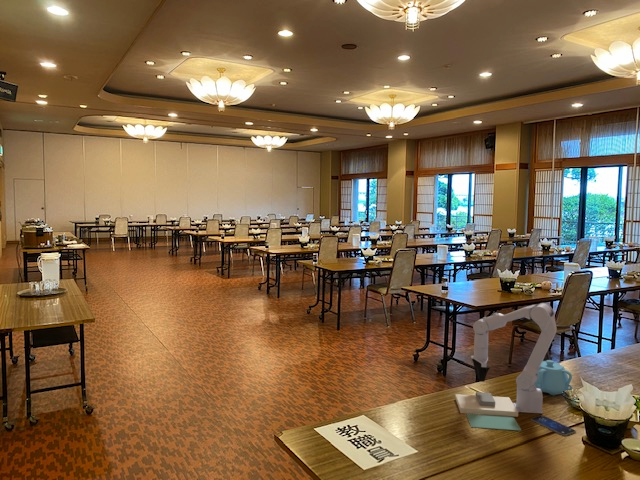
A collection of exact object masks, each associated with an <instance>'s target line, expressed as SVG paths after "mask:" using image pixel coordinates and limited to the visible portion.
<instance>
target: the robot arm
mask: <svg viewBox="0 0 640 480" xmlns="http://www.w3.org/2000/svg"><path fill="white" fill-rule="evenodd" d="M555 314H556V313H555V311H554V309H553V308H552V306H551V305H550V304H548V303H547V302H540V303H538V304H532V305H528V306H523V307H522V308H519V309H517V310H513V311H511V312H509V313H505V314H503V313H500V312H494V313H492V315H490V316H484V317H482V318H480V319H478V320H476V321H475V322H474V323H473V325H472V328H473V332H474V337H473V339H474V340H473V345H474V346H473V355H470V359H471V361H472V363H473V368H474V374H475V375H476V376H478V377H477V378H478V382H485V381H486V379H487V374H488V373H489V371H490V369H491V366H490V365H488V361H489V332H490V331H495V330H497V329H500V328H505V327H506V326H507V324H508V322H512V321H516V320H519V319H522V318H526V319H527V320H532V321H533V322H535V324H537V326H539V328H540V330H541V332H540V335H539V337H538V338H537V341H536V343H535V345H534V348H533V350H532V352H531V354H530V356H529V358H528V361H527V362H526V365H525V366H524V368H523V369H522V371H521V373H520V374H519V375H517V376H516V378H515V384H516V399H515V401H516V402H512V403H513V404H514V406H515V407H516V409H517V411H518V413H527V414H528V413H529V414H542V415H543V401H544V400H543V399H544V397H543V395H544V394H543V392H542V391H541V389H540V388H536V386H535V382H536V381H537V380H538V371H539V367H540V365H541V363H542V361H544V359H545V357H546V355H547V352H548V351H549V348H550V346H551V344H552V341H553V340H554V339H555V338H554V337H555V335H556V333H557V332H558V331H557V330H558V328H557V322H556V317H555Z"/></svg>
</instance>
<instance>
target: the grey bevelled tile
mask: <svg viewBox="0 0 640 480" xmlns="http://www.w3.org/2000/svg"><path fill="white" fill-rule="evenodd" d="M475 395H476V399H477V401H478V403H479V405H480V406H491V407H495V400H494V398H493V397H492V396H493V395H492V393H491V392H483V391H482V392H479V391H476V392H475Z"/></svg>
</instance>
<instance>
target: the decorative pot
mask: <svg viewBox="0 0 640 480" xmlns="http://www.w3.org/2000/svg"><path fill="white" fill-rule="evenodd" d="M572 379H573V375H572V373H571V372H570V371H569V370H567V369H566V368H565V367H564V366H563V365H562V364H560V363H558V362H555V361H554V360H551V359H547V360H543V361H542V363H541V365H540V367H539V371H538V380H537V381H536V382H535V386H536V388H540V389H541V391H542V393H546V394H549V395H551V396H556V395H561V394H563V393H562V392H563V391H565V392H566V391H568V390H571V391H573V386H572V385H571V384H570V383H571V382H572ZM568 392H569V391H568Z"/></svg>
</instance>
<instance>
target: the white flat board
mask: <svg viewBox="0 0 640 480" xmlns="http://www.w3.org/2000/svg"><path fill="white" fill-rule="evenodd" d="M492 397H493V398H494V400H495V407H491V406H480V405H479V403H478V401H477V399H476V394H459V393H457V394H456V393H455V398H454V399H455V401H456V404H457V407H458V410H459V412H460V414H478V415H493V416H508V417H514V418H515V417H517V418H519V412H518V411H517V409H516V407H515V406H514V404H513V403H514V402H513V401H512V400H511V398H510V397H508V396H493V395H492Z"/></svg>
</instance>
